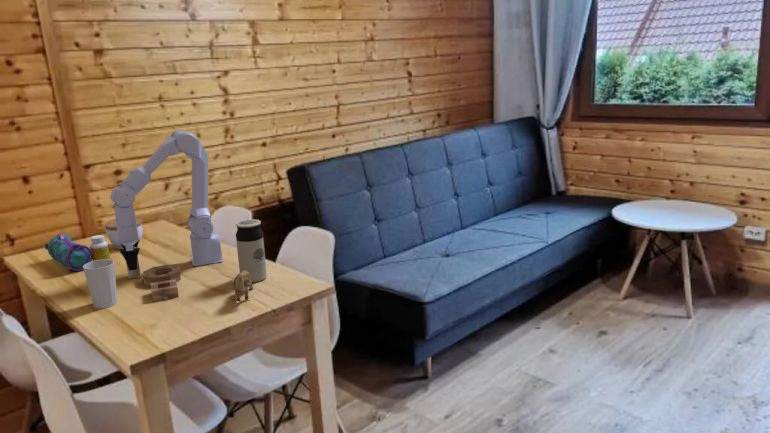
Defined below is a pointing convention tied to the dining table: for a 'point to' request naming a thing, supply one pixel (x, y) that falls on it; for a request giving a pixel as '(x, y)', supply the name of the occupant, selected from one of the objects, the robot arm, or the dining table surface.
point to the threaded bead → (164, 290)
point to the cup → (101, 282)
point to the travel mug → (251, 249)
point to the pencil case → (69, 252)
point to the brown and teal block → (134, 271)
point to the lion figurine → (242, 284)
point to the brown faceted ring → (161, 274)
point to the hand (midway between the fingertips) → (132, 266)
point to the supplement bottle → (99, 248)
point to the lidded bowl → (113, 233)
